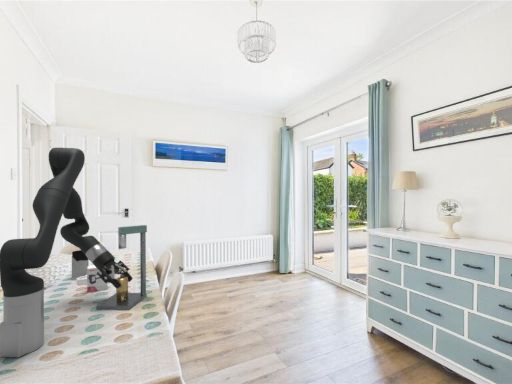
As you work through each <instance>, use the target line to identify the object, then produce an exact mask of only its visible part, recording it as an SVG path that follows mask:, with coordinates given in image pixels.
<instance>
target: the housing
mask: <svg viewBox="0 0 512 384" xmlns="http://www.w3.org/2000/svg"><path fill="white" fill-rule="evenodd" d="M119 275H120V276H119V277H117V278H116V277H115V278H116V279H117V280H118V282H119V283H120V284H121V286H120V287H119V288H115V289H116V293H115V294H116V298H117V301H124V300H127V299H128V293H129V282H128V277H126V276H124V275H121V274H119Z"/></svg>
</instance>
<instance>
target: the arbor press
mask: <svg viewBox="0 0 512 384" xmlns="http://www.w3.org/2000/svg"><path fill="white" fill-rule="evenodd" d="M147 227H148V226H147V225H146V224H141V225H129V226H118V228H117V229H118V231H117V232H118V233H117V234H118V235H117V236H118V249H119V250H122V249H127V235H133V234H139V235H140V237H139V239H140V240H139V241H140V245H139V247H140V248H139V249H140V250H139V251H140V252H139V253H140V259H139V260H140V262H139V263H140V292H128V299H127V300H124V301H117V298H116V293H114V294H113V295H112V296H109V297H108V298H106V299H105V300H103V301H102V302H100V303H97V304H96V305H95V309H96V310H106V311H107V310H112V311H113V310H117V311H130V310H131V309H133V308H134V307H135V306H136V305H137V304H139V303H140V302H141V301H143V300H144V299H145V298H147V282H146V281H147V262H146V261H147V258H146V257H147V256H146V254H147V253H146V251H147V250H146V249H147V248H146V247H147V246H146V243H147V242H146V238H147V237H146V233H147V232H148V230H147V229H148V228H147Z"/></svg>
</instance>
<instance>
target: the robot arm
mask: <svg viewBox="0 0 512 384" xmlns="http://www.w3.org/2000/svg"><path fill="white" fill-rule="evenodd" d="M85 156H86V155H85V153H84V151H83V150H81V149H80V148H76V147H52V148H51V149H49V153H48V163H49V167H50V170H51V173H52V176H53V177H52V178H51V179H50V180H48V181H46V182H45V183H43V184H42V185H41V186H40V188H39V189H38V191H37V192H36V195H35V197H34V200H32V210H33V213H34V215H35V217H36V219H37V221H38V223H39V229H38V232H37V234H36V236H35V237H32V238H31V237H29V238H13V239H8V240H7V241H5V242H4V243H3V244H2V246H1V248H0V287H1V289H2V292H3V293H2V294H3V295H2V299H3V300H2V302H3V303H2V309H3V311H2V312H3V313H2V314H3V315H2V316H3V317H2V319H3V320H2V322H0V357H1V358H21V357H22V356H24V355H27V354H30V353H32V352H34V351H36V350H38V349H40V348H41V347H42V346H43V345H44V344H45V281H44V278H42V277H39V276H35V275H32V274H30V273H29V272H27V271H26V270H30V269H31V270H33V269H40V268H42V267H44V266H45V265H46V264H47V262H48V261H49V259H50V258H51V253H52V250H53V248H54V244H55V239H56V235H57V232H58V231H57V230H58V228H59V225H60V222H61V219H62V217H63V218H64V219H66V220H74V222H70V223H67V224H64V225H63V226H62V227H60V231H59V232H60V235H61V237H62V239H64V240H65V241H66V242H67V243H69V244H71V245H73V246H75V247H76V248H78V249H79V250H82V252H83V253H84V254H85V255H86V256H87V258H88V259H89V260H88V261H90V262H91V263H92V264H93V265H95V267H96V268H97V269H98V270H99V271H98V272H97V274H98V275H99V276H100V278H101V279H102V280H103V281H104V282H105V283H107V284H108V283H109V284H110V283H111V284H112V286H113V287H114V288H115V289H116V288H119V287H120V286H121V284H120V283H119V282H118V280H117V279H116V276H115V277H114V274H115V275H124V276H126V277H128V283H129V282H132V280H133V276H132V275H131V274H130V273H129V270H130V268H129V267H128V266H127V265H126V264H125V263H124V262H123V261H122V260H118V262H116V258H115V256H114V255H113V254H112V253H111V252H110V251H109V250H108V249H107V248H106V246H104V245H103V244H102V243H101V242H100V241H99V240H98V239H97V238H96V237H94V236H93V235H87V234H88V233H89V230H90V225H89V222H88V220H87V219H86V216H85V214H84V210H83V204H82V198H81V196H80V194H79V192H78V191H77V190H76V189H75V188H74V186H75V183H76V181H77V180H78V178H79V175H80V173H81V172H82V169H83V168H84V164H85V161H86V160H85V159H86V158H85ZM84 235H87V236H84ZM105 276H106V278H107V279H105Z"/></svg>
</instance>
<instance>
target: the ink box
mask: <svg viewBox="0 0 512 384" xmlns="http://www.w3.org/2000/svg"><path fill="white" fill-rule="evenodd" d="M98 271H99V270H98V269H97V268H96V267H95V265H94V264H93V265H88V267H87V284H86V289H87V291H86V293H87V294H88V293H94V292H100V291H105V290H108V289H109V288H108V287H109V286H108V282H107V283H105V282H104V281H103V280H102V279H101V278H100V276H99V275H98V274H97V272H98ZM105 279H107V278H106V276H105Z"/></svg>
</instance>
